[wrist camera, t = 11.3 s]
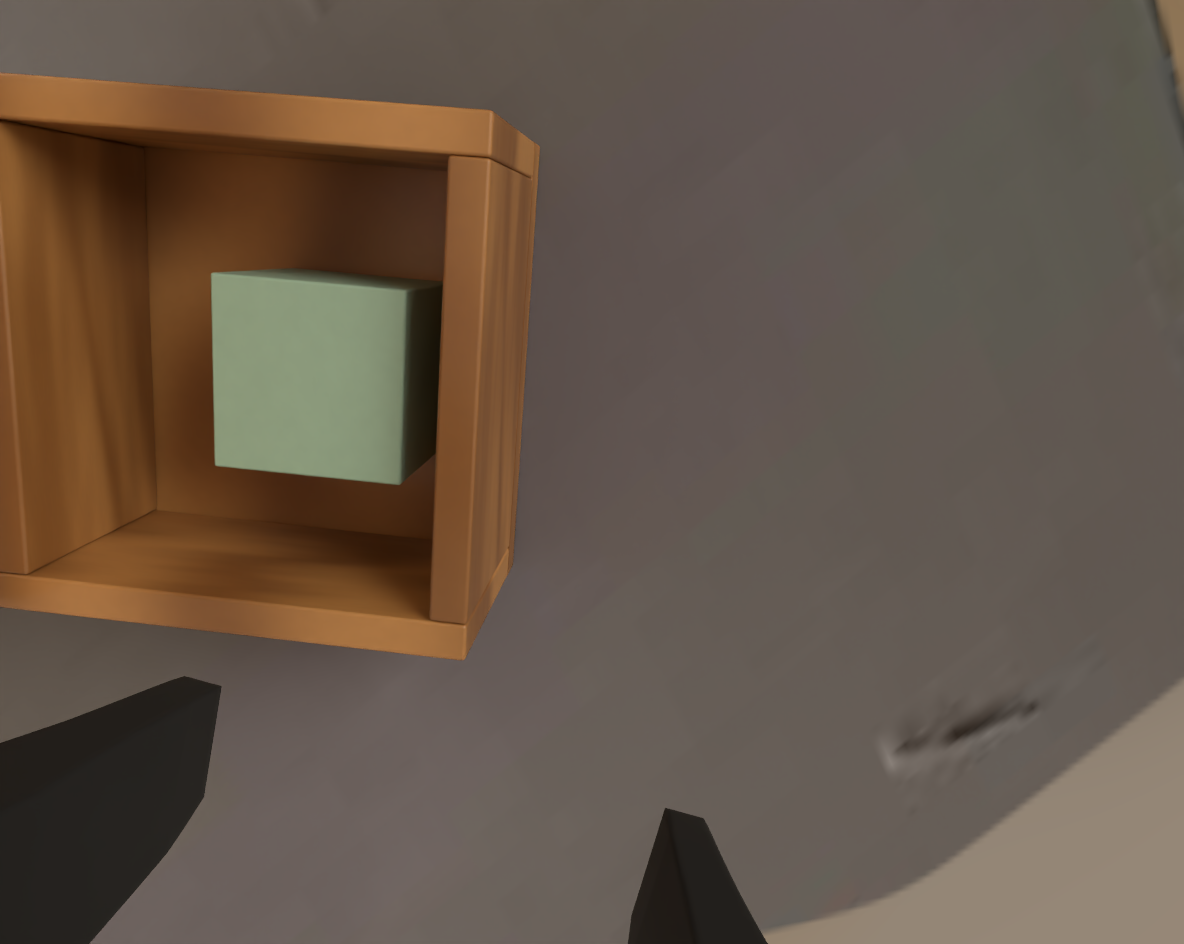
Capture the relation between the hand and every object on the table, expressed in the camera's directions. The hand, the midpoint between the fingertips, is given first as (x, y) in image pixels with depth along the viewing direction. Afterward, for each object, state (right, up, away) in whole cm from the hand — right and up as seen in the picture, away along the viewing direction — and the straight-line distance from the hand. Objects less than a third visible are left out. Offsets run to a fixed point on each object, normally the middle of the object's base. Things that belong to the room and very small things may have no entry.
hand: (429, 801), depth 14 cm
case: (-4, +8, +9) cm, 13 cm away
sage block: (-3, +8, +8) cm, 12 cm away
